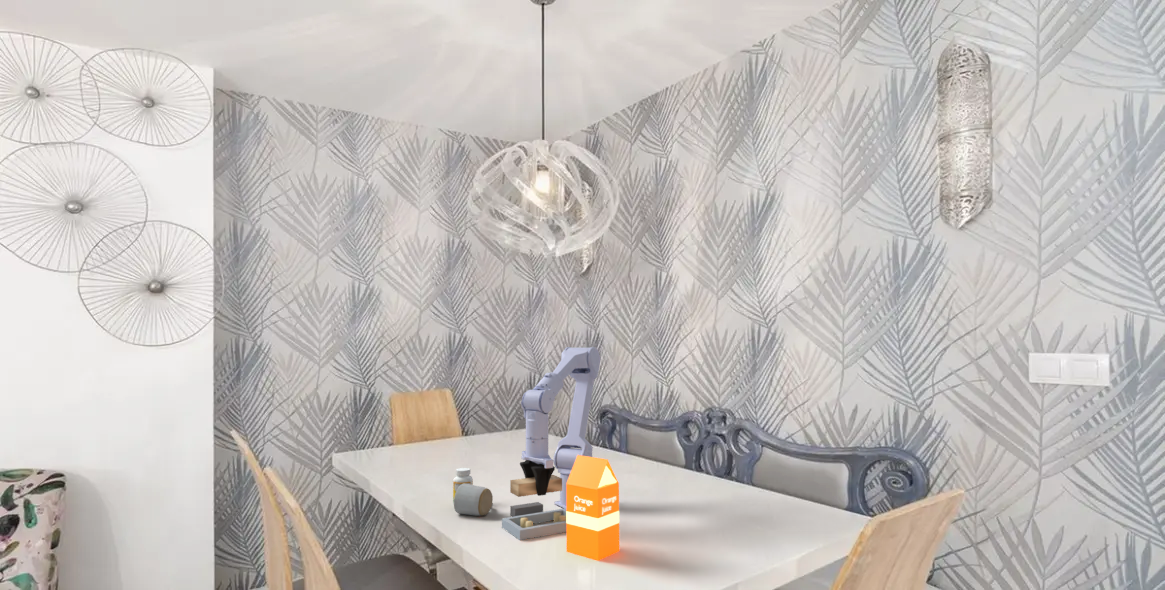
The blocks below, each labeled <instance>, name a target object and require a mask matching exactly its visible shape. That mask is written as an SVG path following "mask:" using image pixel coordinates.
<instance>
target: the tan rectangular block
mask: <svg viewBox="0 0 1165 590" xmlns="http://www.w3.org/2000/svg"><path fill="white" fill-rule="evenodd" d="M509 487H510V493H511V494H512V495H514V496H515V497H518V498H519V497H528V496H533V495H537V491H536V481H535V477H532V478H525V477H523V478H517V479H510V486H509ZM560 491H562V478H560V476H557V475H554V474H552V475H551V478H550V480H549V484H548V488H547V492H546V494H549V493H553V492H554V493H555V492H560Z"/></svg>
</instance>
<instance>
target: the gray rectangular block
mask: <svg viewBox="0 0 1165 590" xmlns="http://www.w3.org/2000/svg"><path fill="white" fill-rule="evenodd" d="M509 512H510V513H509V514H510V515H511V516H512V517H514V516H520V515H526V514H533V513H539V512H544V504H543V503H541V502H539V501H535V502H529V503H523V504H516V505H510V511H509ZM511 516H510V517H511Z"/></svg>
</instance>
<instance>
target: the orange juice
mask: <svg viewBox="0 0 1165 590" xmlns="http://www.w3.org/2000/svg"><path fill="white" fill-rule="evenodd" d="M566 523H567V532H566V553H570V554H572V555H573V554H574V555H576V556H579V557H584V558H586V559H590V560H593V561H597V562H599V561H601V560H604V559H605V558H608V557H609V556H613V555H614V554H616V553H618V552H620V483H619V481H618V479H617V477H616V475H615V472H614V471H613V468H612V467H611V463H610V462H609V459H606V458H601V457H595V456H592V457H588V456H581V455H577V458H576V460H575V463H574V465H573V468H572V470H571V473H570V475H569V478H568V480H567V483H566Z"/></svg>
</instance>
